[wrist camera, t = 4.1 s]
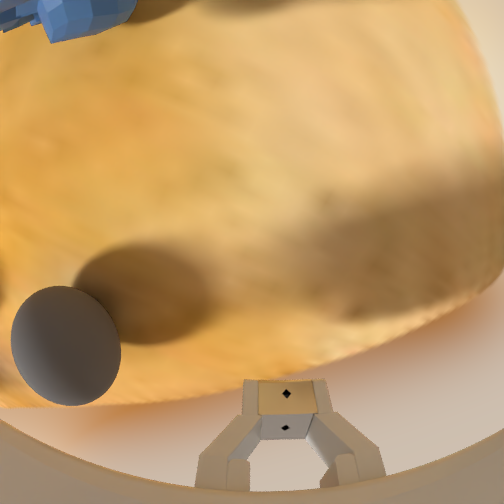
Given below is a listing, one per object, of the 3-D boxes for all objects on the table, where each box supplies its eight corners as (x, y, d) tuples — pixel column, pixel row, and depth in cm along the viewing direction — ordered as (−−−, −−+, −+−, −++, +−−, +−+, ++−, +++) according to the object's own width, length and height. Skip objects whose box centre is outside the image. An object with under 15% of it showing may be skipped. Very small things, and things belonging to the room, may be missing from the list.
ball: (38, 262, 12) (-28, 321, 6) (124, 267, 12) (60, 350, 6) (67, 344, 14) (25, 409, 9) (146, 358, 14) (114, 441, 9)
